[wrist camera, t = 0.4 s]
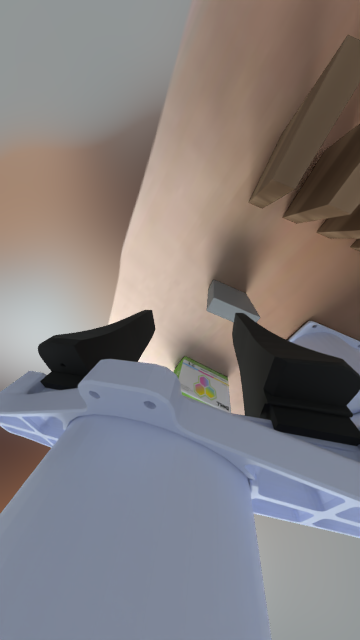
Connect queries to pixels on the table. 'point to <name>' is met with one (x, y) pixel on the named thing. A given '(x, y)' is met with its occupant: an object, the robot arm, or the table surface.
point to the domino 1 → (229, 302)
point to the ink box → (203, 384)
